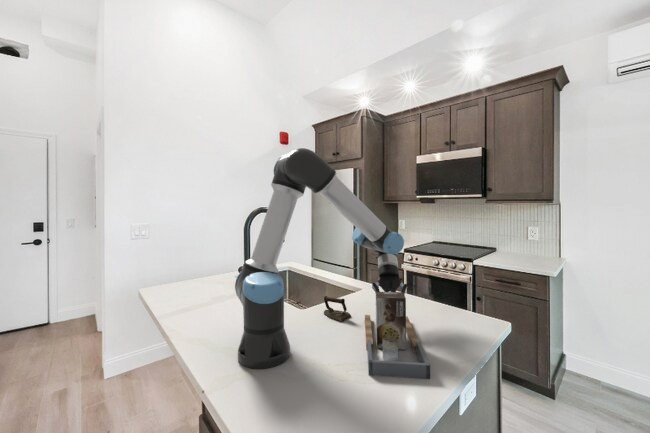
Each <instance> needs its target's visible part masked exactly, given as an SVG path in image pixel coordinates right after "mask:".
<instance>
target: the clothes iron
mask: <svg viewBox="0 0 650 433" xmlns="http://www.w3.org/2000/svg"><path fill="white" fill-rule="evenodd" d="M323 300H324V304H325V307H326V309H324V310H323V315H324V316H325V317H326V316H327V317H326V318H328V319H331V320H332V321H336V322H337V323H343V322H345V321H346V320H348V319H350V318H351V317H352V314H350V313H349V312H348V310H347V306H346V302H345V301H346V300H345V298H336V297H332V296H327V295H325V296H324V297H323ZM329 302H330V303H335V304H340V305H342V308H343V310H336V309H334V308H332V307H330V305H329Z"/></svg>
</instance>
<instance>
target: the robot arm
mask: <svg viewBox="0 0 650 433" xmlns="http://www.w3.org/2000/svg"><path fill="white" fill-rule="evenodd" d="M270 186H271V188H272V190H273V192H272V194H271V198H270V200H269V204H268V207H267V210H266V213H265V216H264V219H263V222H262V225H261V227H260V230H259V234H258V235H257V236H258V237H257V240H256V243H255V246H254V249H253V252H252V254H251V257H250V258H249V259H247V260H245V261H244V263H243V266H242V270H241V271H240V273H239V274H238V275H237V277H236V279H235V284H234V289H235V294H236V296H237V297H238V300H239V301H240V303H241V305H242V307H243V332H242V336H241V338H240V339H241V340H240V343H239V346H238V348H237V360H238V363H239V364H240V365H242V366H243V367H246V368H249V369H258V370H259V369H269V368H270V369H271V368H273V367H276V366H278V365H281V364H282V363H284V362H286V361H287V360H288V358H290V356H291V344H290V342H289V338H288V335H287V332H286V329H285V286H284V285H285V284H284V280H283V278H282V277H281V275H279V269H278V267H277V263H278V260H279V257H280V254H281V251H282V247H283V244H284V242H285V238H286V235H287V232H288V230H289V227H290V224H291V219H292V218H293V214H294V212H295V208H296V204H297V202H298V199H299V198H301V197H303V196H304V194H305V191H306V189H307V188H308V189H309V190H311V191H312V192H313V193H314V194H315V195H317V194H320V196H322V198H324V199H325V200H326V201H327V202H328V203H330V205H331V206H332V207H334V208H335V209H336V210H337V212H339V214H341V215H342V216H343V217H344V218H345V219H346V220H347V221H349V222H350V223H351V224H352V225H353V226H354V227H355V228H354V229H353V232H352V235H351V239H352V241H353V242H354V243H355V244H357V245H359V246H361V247H363V248H365V249H367V250H370V251H372V252H373V253H375V254H377V268H378V269H377V270H378V279H377V282H372V284H371V286H372V287H371V288H372V290H373V291H374V293H375V294H376V292H381V291H380V288H381V290H382V291H383V292H397V290H398V289H399V287H400V290H401V291H400V292H403V293H404V295H405V296H406V294H405V293H406V291H407V290H408V287H409V286H408V283H403V282H402V280H401V279H400V272H399V262H398V254H399V253H400V252H402V250H403V248H404V246H405V239H404V237H403V236H402V234H400V233H398V232H396V231H392V230H391V229H390V228H389V227H388V226H387V225H385V223H384V222H383V221H382V220H381V219H380V218H378V216H377V215H375V213H374V212H373V211H371V209H369V207H368V206H366V204H365V203H364V202H362V200H360V199H359V197H358V196H356V195H355V194H354V193H353V191H351V189H349V188H348V186H347V185H345V183H344V182H342V180H340V178H339V177H337V171H336V170H335V169H334V168H333V167H332V165H331V164H329V163H328V162H327V161H326V160H325V159H323V157H321V155H319V154H318V153H316V152H315V151H313V150H311V149H308V148H302V147H301V148H295V149H293V150H291V151H290V152H288V153H286V154H282V155H281V156H280V157H279V158H278V159H277V161H276V162H275V164H274V167H273V178H272V181H271V185H270Z"/></svg>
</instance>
